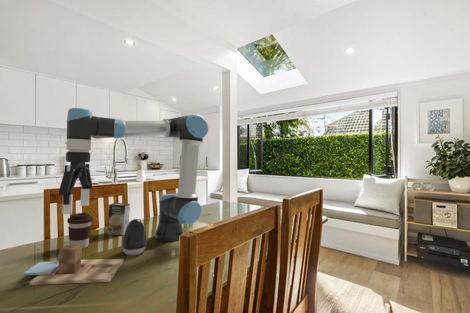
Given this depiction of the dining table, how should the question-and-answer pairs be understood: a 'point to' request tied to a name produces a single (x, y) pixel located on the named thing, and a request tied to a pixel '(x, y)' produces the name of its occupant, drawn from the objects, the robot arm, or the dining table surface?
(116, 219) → the coffee box
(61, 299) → the dining table surface
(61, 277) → the board
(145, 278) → the dining table surface
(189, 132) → the robot arm
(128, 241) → the dark grey rounded dome
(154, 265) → the dining table surface
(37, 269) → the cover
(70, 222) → the coffee cup
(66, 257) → the block
